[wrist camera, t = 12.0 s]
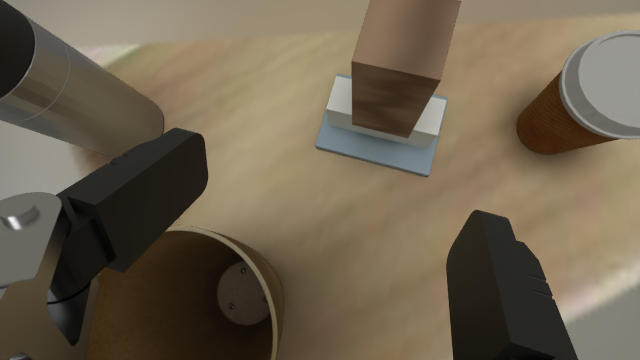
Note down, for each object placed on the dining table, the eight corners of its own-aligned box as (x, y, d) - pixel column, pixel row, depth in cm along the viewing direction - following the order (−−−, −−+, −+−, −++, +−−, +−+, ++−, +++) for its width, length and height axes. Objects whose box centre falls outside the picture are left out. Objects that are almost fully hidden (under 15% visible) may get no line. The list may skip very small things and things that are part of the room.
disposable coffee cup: (491, 150, 36) (556, 108, 25) (516, 81, 37) (591, 10, 26) (574, 180, 35) (687, 151, 23) (598, 107, 36) (718, 44, 24)
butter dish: (316, 148, 39) (309, 132, 33) (338, 77, 40) (335, 50, 34) (426, 177, 36) (440, 165, 31) (445, 101, 38) (462, 76, 32)
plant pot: (166, 281, 38) (33, 313, 22) (261, 206, 38) (197, 184, 22) (234, 390, 34) (135, 518, 19) (336, 306, 35) (322, 362, 19)
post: (352, 124, 32) (351, 60, 21) (367, 74, 33) (374, -15, 22) (408, 138, 31) (440, 79, 20) (421, 86, 32) (461, 0, 21)
